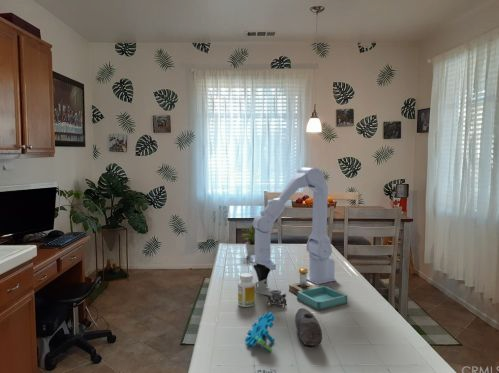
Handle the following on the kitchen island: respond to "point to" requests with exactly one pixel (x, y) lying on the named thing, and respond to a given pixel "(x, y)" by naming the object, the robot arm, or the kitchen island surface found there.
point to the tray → (321, 297)
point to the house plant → (250, 241)
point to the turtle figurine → (277, 300)
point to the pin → (303, 277)
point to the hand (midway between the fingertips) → (262, 284)
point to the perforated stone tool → (308, 327)
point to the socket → (296, 287)
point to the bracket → (267, 289)
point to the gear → (261, 331)
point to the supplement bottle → (246, 290)
